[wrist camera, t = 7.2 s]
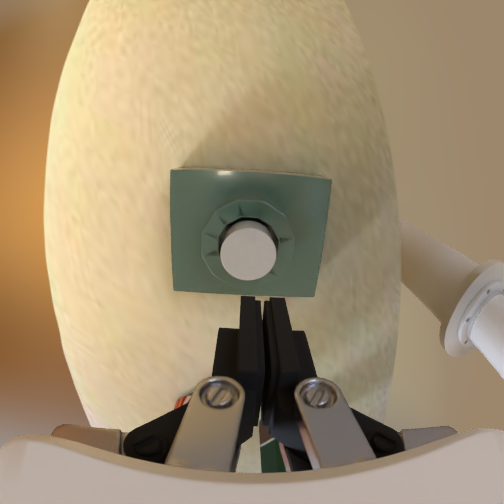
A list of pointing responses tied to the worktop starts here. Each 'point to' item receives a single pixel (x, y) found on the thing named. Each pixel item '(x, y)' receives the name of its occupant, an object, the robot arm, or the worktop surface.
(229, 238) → the grey round knob
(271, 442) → the beer bottle
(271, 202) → the base
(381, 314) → the worktop surface
